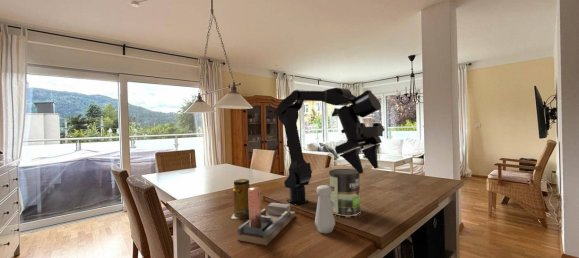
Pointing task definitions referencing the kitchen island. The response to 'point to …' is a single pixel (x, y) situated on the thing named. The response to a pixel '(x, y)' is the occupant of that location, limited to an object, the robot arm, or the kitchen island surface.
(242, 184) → the condiment
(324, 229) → the salt shaker
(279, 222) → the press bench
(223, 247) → the kitchen island surface
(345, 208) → the coffee can
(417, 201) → the kitchen island surface
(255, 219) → the slider
